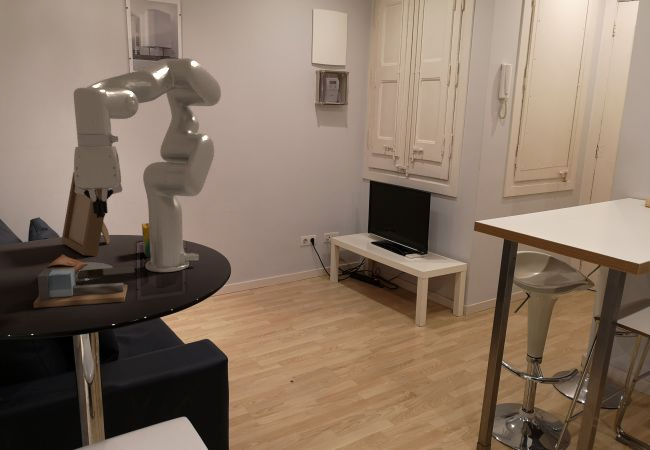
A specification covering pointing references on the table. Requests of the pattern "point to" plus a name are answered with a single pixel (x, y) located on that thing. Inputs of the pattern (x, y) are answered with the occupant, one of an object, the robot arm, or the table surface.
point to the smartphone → (106, 272)
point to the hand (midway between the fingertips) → (101, 216)
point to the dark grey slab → (44, 284)
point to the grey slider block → (61, 282)
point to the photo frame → (83, 224)
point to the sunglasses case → (67, 264)
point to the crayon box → (146, 239)
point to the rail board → (87, 295)
